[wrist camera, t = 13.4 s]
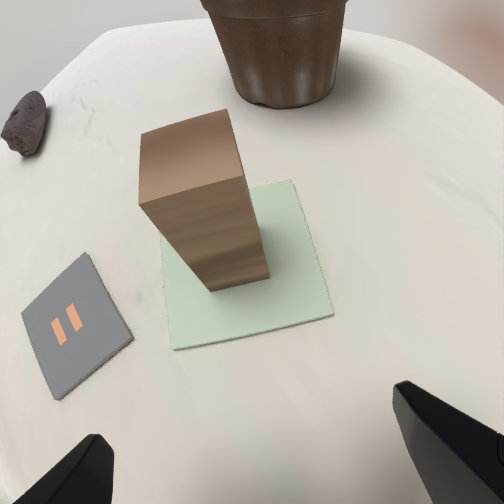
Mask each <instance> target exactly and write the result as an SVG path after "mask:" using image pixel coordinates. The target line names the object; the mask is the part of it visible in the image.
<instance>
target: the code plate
mask: <svg viewBox="0 0 504 504" xmlns="http://www.w3.org/2000/svg"><path fill="white" fill-rule="evenodd" d="M21 315H22V318H23V321H24V324H25V327H26V330H27V333H28V336H29V339H30V342H31V345H32V347H33V350H34V353H35V355H36V358H37V361H38V363H39V366H40V368H41V370H42V373H43V375H44V378H45V380H46V382H47V385H48V387H49V389H50V391H51V393H52V396H53V398H54V400H60V399H61V398H62V397H64V396H65V395H66V394H67V393H68V392H70V391H71V390H72V389H73V388H74V387H76V386H77V385H78V384H79V383H81V382H82V381H83V380H84V379H85V378H87V377H88V376H89V375H90V374H91V373H93V372H94V371H95V370H96V369H97V368H99V367H100V366H101V365H102V364H104V363H105V362H106V361H107V360H108V359H110V358H111V357H112V356H113V355H115V354H116V353H117V352H118V351H119V350H121V349H122V348H123V347H124V346H126V345H127V344H128V343H129V342H130V341H132V340H133V339H134V337H133V336H132V334H131V332H130V331H129V329H128V327H127V326H126V324H125V322H124V321H123V319H122V317H121V315H120V314H119V312H118V310H117V308H116V307H115V305H114V303H113V301H112V300H111V298H110V296H109V294H108V292H107V290H106V288H105V287H104V285H103V283H102V281H101V279H100V277H99V275H98V273H97V271H96V269H95V267H94V265H93V263H92V261H91V259H90V257H89V255H88V254H87V253H86V252H84V253H83V254H82V255H81V256H80V257H79V258H77V259H76V260H75V261H74V262H73V263H72V264H71V265H70V266H69V267H68V268H67V269H66V270H64V271H63V272H62V273H61V274H60V275H59V276H58V277H57V278H56V279H55V280H54V281H53V282H52V283H51V284H50V285H49V286H48V287H47V288H46V289H45V290H44V291H43V292H42V293H41V294H40V295H39V296H38V297H37V298H36V299H35V300H34V301H33V302H32V303H31V304H30V305H29V306H28V307H27V308H26V309H25V310H24V311H23V312H22V313H21Z"/></svg>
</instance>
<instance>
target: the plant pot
mask: <svg viewBox="0 0 504 504" xmlns="http://www.w3.org/2000/svg"><path fill="white" fill-rule="evenodd" d="M200 1H201V3H202V6H203V8H204V9H205V10H206V11H208V13H209V16H210V18H211V21H212V24H213V26H214V29H215V31H216V34H217V37H218V39H219V42H220V45H221V47H222V50H223V53H224V56H225V59H226V61H227V64H228V67H229V70H230V73H231V76H232V79H233V82H234V85H235V88H236V90H237V92H238V93H239V94H240V95H241V96H242V97H243V98H244V99H246V100H247V101H249V102H251V103H254V104H256V103H263V104H266V105H268V106H269V107H271V108H292V107H299V106H304V105H308V104H311V103H314V102H316V101H319V100H321V99H323V98H324V97H325V96H327V95H328V94H329V92H330V90H331V88H332V86H333V85H334V83H335V76H336V69H337V63H338V56H339V49H340V42H341V35H342V27H343V19H344V12H345V4H346V2H347V1H348V0H200Z"/></svg>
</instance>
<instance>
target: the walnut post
mask: <svg viewBox="0 0 504 504" xmlns="http://www.w3.org/2000/svg"><path fill="white" fill-rule="evenodd" d="M139 206H140V207H141V208H142V210H143V211H144V212H145V213H146V215H147V216H148V217H149V218H150V220H151V221H152V222H153V223H154V225H155V226H156V227H157V229H158V230H159V231H160V232H161V234H162V235H163V236H164V237H165V238H166V240H167V241H168V242H169V243H170V245H171V246H172V247H173V248H174V250H175V251H176V252H177V253H178V254H179V256H180V257H181V258H182V259H183V261H184V262H185V263H186V264H187V265H188V267H189V268H190V269H191V270H192V271H193V273H194V274H195V275H196V276H197V277H198V278H199V280H200V281H201V282H202V283H203V284H204V286H205V287H206V288H207V289H208V290H209V291H210V292H214V291H218V290H223V289H227V288H231V287H236V286H240V285H244V284H249V283H253V282H257V281H261V280H266V279H270V274H269V270H268V266H267V261H266V257H265V253H264V248H263V244H262V240H261V236H260V232H259V227H258V223H257V219H256V216H255V212H254V208H253V204H252V200H251V197H250V193H249V189H248V185H247V181H246V178H245V174H244V170H243V166H242V163H241V159H240V155H239V151H238V148H237V144H236V140H235V136H234V133H233V129H232V125H231V122H230V118H229V114H228V110H227V109H223V110H220V111H216V112H212V113H208V114H205V115H201V116H198V117H194V118H191V119H187V120H184V121H181V122H177V123H174V124H171V125H168V126H165V127H161V128H158V129H155V130H152V131H149V132H147V133H144V134H141V145H140V165H139Z"/></svg>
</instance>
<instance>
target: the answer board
mask: <svg viewBox="0 0 504 504" xmlns="http://www.w3.org/2000/svg"><path fill="white" fill-rule="evenodd" d="M249 193H250V197H251V200H252V204H253V208H254V212H255V216H256V219H257V223H258V227H259V232H260V236H261V240H262V244H263V248H264V253H265V257H266V261H267V266H268V270H269V274H270V279H266V280H261V281H257V282H253V283H249V284H244V285H240V286H236V287H231V288H227V289H223V290H218V291H214V292H210V291H209V290H208V289H207V288H206V287H205V286H204V284H203V283H202V282H201V281H200V280H199V278H198V277H197V276H196V275H195V274H194V273H193V271H192V270H191V269H190V268H189V267H188V265H187V264H186V263H185V262H184V261H183V259H182V258H181V257H180V256H179V254H178V253H177V252H176V251H175V250H174V248H173V247H172V246H171V245H170V243H169V242H168V241H167V240H166V238H165V237H164V236H163V235H162V234H161V232H160V242H161V256H162V269H163V281H164V292H165V302H166V311H167V320H168V328H169V336H170V344H171V349H172V350H179V349H185V348H190V347H196V346H201V345H206V344H212V343H217V342H222V341H227V340H231V339H236V338H241V337H245V336H250V335H255V334H259V333H263V332H268V331H272V330H276V329H281V328H285V327H289V326H293V325H297V324H301V323H305V322H309V321H313V320H316V319H320V318H324V317H328V316H331V315H333V314H334V313H333V309H332V305H331V302H330V299H329V295H328V292H327V288H326V285H325V282H324V278H323V275H322V272H321V268H320V265H319V262H318V259H317V255H316V252H315V249H314V246H313V243H312V239H311V236H310V233H309V230H308V227H307V224H306V221H305V218H304V215H303V212H302V209H301V206H300V203H299V200H298V197H297V194H296V191H295V188H294V185H293V182H292V180H287V181H282V182H278V183H274V184H270V185H266V186H261V187H257V188H253V189H249Z"/></svg>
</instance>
